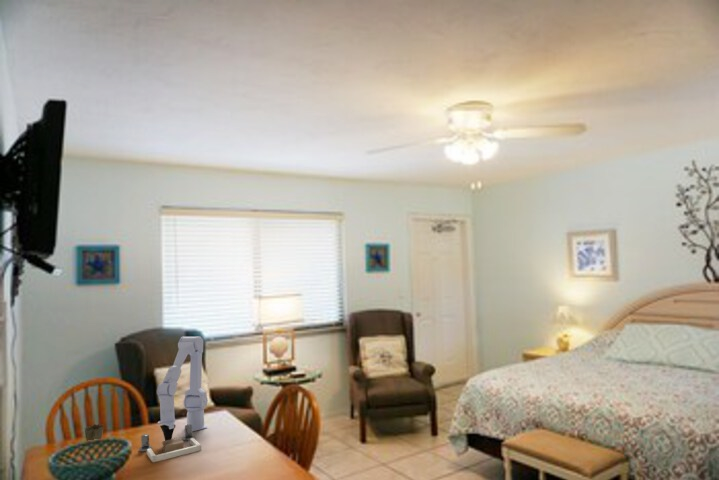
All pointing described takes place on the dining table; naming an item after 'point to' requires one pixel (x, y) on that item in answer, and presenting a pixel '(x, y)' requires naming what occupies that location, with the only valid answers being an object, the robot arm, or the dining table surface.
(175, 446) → the walnut block
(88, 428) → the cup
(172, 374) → the robot arm
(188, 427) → the post
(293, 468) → the dining table surface
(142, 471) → the dining table surface
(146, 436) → the post
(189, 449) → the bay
